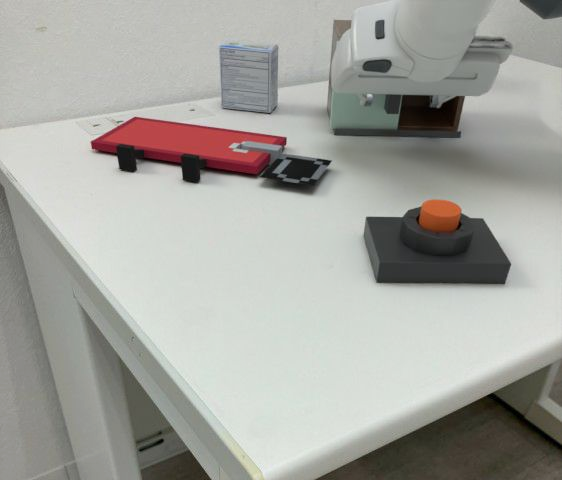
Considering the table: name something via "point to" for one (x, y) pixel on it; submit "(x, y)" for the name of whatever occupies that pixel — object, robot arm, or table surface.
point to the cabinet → (406, 108)
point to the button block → (434, 251)
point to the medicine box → (249, 75)
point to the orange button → (439, 215)
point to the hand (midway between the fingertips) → (399, 102)
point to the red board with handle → (207, 150)
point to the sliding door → (365, 111)
